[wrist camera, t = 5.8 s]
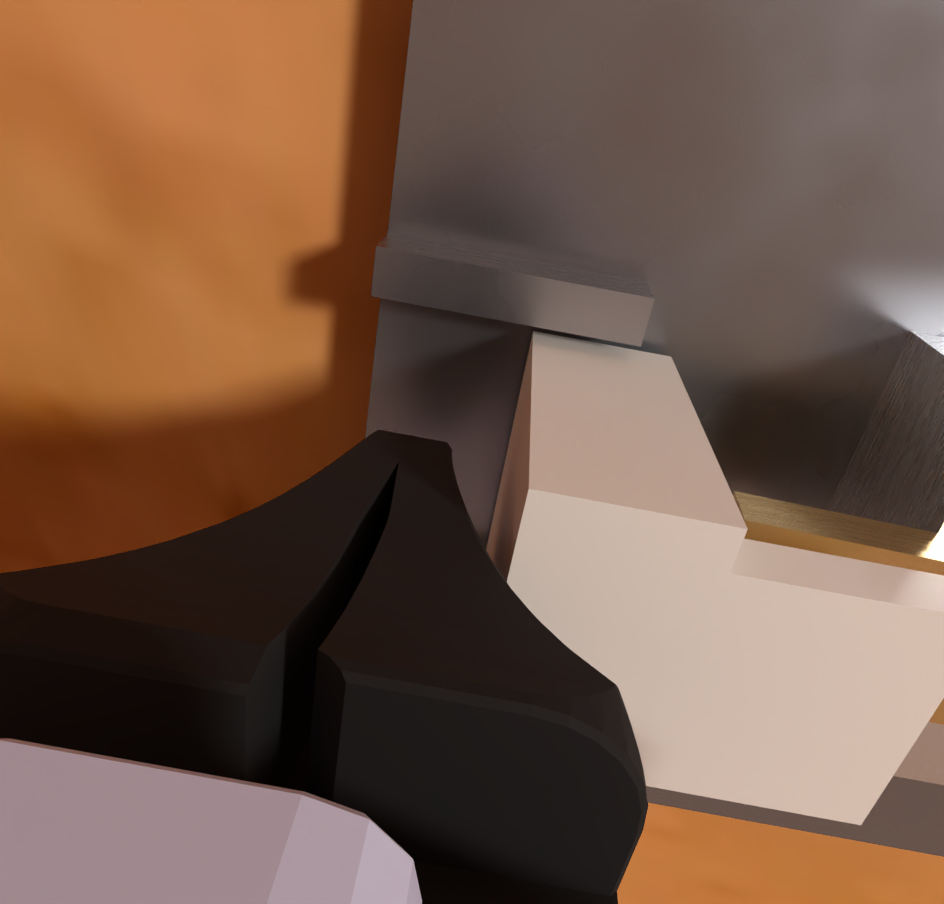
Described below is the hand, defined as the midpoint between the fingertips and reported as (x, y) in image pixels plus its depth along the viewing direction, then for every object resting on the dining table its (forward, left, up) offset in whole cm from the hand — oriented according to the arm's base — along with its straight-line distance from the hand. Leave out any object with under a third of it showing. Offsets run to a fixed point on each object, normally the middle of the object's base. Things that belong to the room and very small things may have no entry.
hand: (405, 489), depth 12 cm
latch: (0, -4, -2) cm, 5 cm away
